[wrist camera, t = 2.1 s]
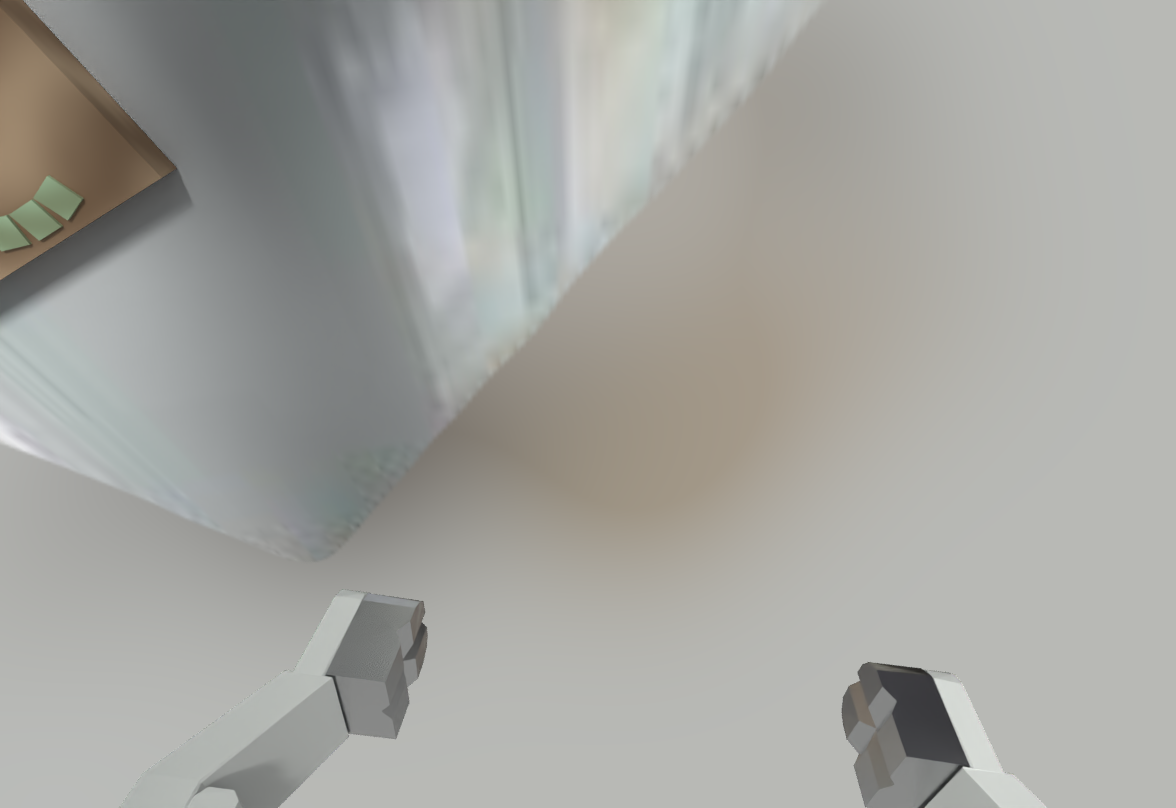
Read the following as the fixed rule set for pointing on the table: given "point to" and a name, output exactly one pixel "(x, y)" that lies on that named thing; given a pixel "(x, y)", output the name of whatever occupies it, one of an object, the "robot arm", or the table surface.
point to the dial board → (59, 142)
